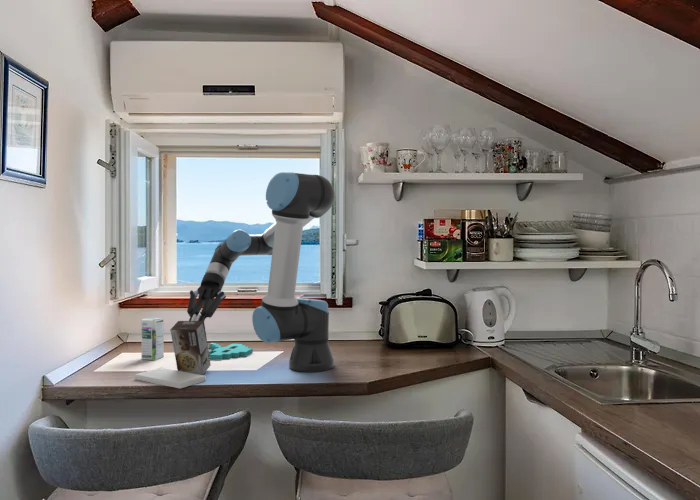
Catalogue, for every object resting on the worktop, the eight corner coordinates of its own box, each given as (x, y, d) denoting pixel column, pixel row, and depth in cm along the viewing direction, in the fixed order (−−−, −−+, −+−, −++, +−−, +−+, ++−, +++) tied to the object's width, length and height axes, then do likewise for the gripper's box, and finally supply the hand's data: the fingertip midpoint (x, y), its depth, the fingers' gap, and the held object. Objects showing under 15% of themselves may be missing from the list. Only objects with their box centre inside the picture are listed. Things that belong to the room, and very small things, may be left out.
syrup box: (140, 359, 194) (140, 319, 194) (151, 356, 200) (150, 317, 199) (154, 360, 192) (154, 320, 192) (164, 356, 198) (164, 317, 198)
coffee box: (211, 364, 179) (205, 320, 174) (203, 374, 173) (197, 329, 168) (185, 364, 180) (178, 320, 175) (177, 374, 174) (169, 328, 169)
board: (205, 380, 166) (205, 375, 166) (180, 388, 157) (179, 383, 157) (161, 372, 176) (161, 367, 176) (135, 379, 167) (135, 374, 167)
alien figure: (186, 359, 196) (238, 362, 192) (186, 353, 196) (238, 355, 192) (211, 348, 215) (259, 350, 211) (211, 342, 215) (259, 344, 211)
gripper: (235, 285, 194) (214, 340, 178) (200, 284, 197) (176, 338, 181) (229, 271, 189) (207, 327, 173) (193, 270, 191) (167, 325, 176)
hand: (191, 332), depth 177 cm, fingers closed
